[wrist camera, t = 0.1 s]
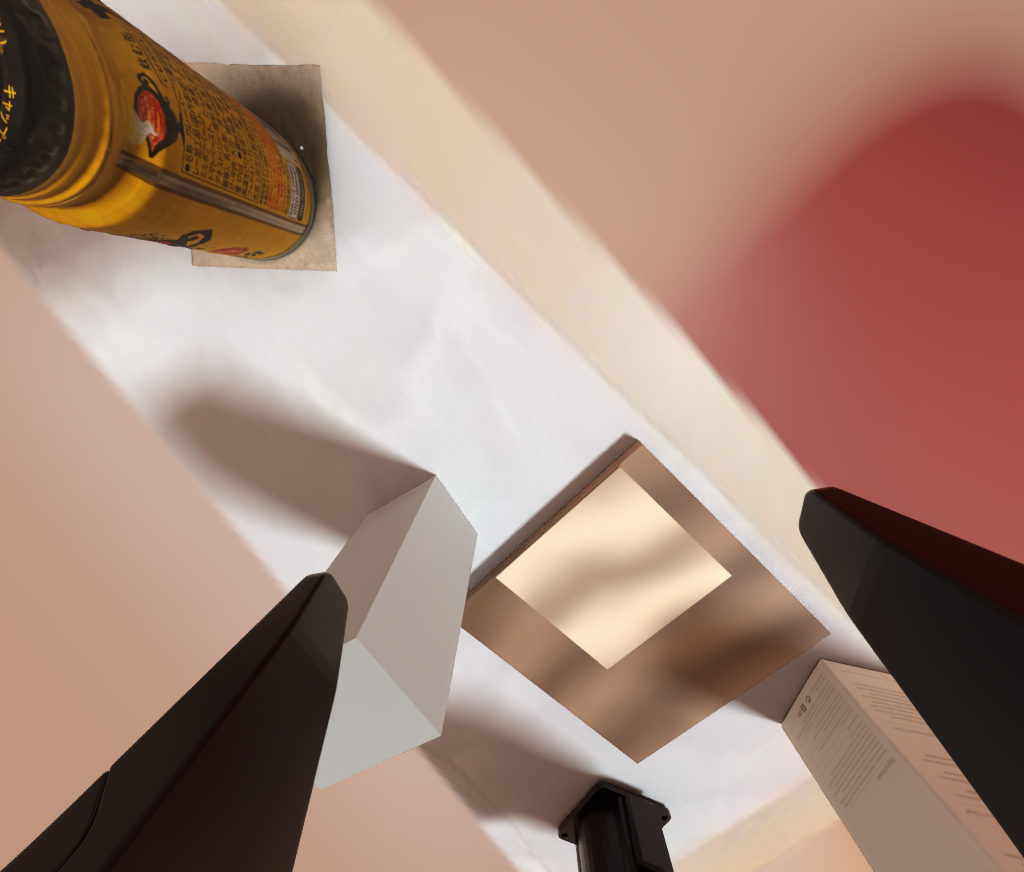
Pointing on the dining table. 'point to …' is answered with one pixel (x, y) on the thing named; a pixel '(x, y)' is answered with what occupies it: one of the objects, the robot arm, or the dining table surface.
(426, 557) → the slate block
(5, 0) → the condiment
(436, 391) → the dining table surface
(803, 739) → the small box
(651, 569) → the brown square board
